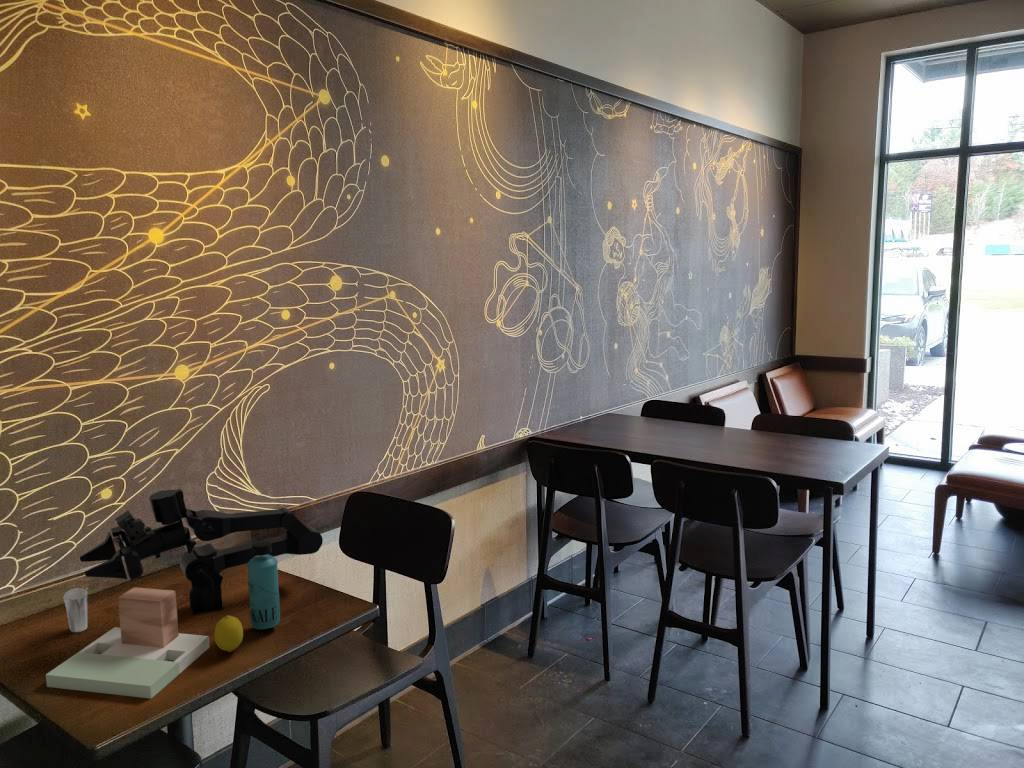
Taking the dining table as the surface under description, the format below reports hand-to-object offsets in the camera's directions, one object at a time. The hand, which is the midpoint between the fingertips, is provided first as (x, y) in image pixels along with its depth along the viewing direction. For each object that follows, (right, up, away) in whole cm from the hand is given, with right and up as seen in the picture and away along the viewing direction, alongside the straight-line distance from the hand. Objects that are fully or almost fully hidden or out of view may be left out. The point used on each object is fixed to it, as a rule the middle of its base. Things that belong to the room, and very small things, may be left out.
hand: (82, 566), depth 159 cm
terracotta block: (+16, -14, -4) cm, 22 cm away
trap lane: (+15, -18, -9) cm, 25 cm away
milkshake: (-4, -15, +6) cm, 17 cm away
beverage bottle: (+37, -15, +6) cm, 41 cm away
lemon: (+33, -17, -4) cm, 37 cm away
